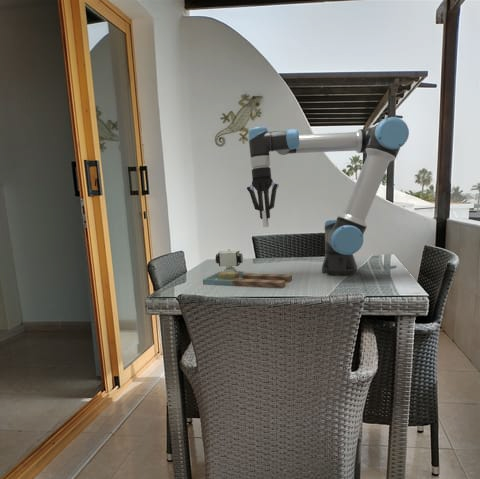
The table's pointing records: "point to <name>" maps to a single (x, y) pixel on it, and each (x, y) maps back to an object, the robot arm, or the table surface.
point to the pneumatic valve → (229, 259)
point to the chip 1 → (221, 275)
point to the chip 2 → (232, 275)
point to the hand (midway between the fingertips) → (266, 226)
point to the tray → (211, 280)
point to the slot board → (263, 280)
